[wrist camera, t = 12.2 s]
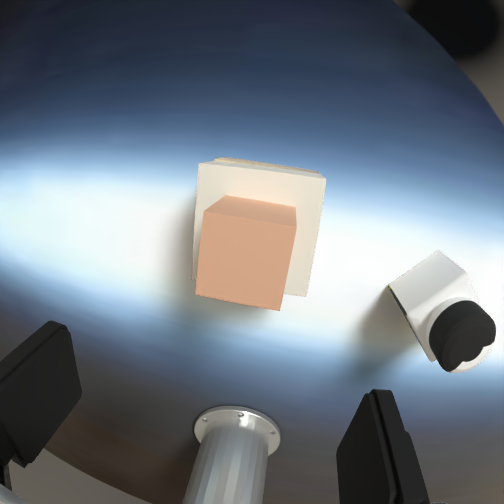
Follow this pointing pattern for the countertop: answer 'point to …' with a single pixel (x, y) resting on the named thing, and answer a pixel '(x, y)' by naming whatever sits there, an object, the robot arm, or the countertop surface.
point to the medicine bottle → (445, 313)
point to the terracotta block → (246, 251)
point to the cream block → (269, 190)
